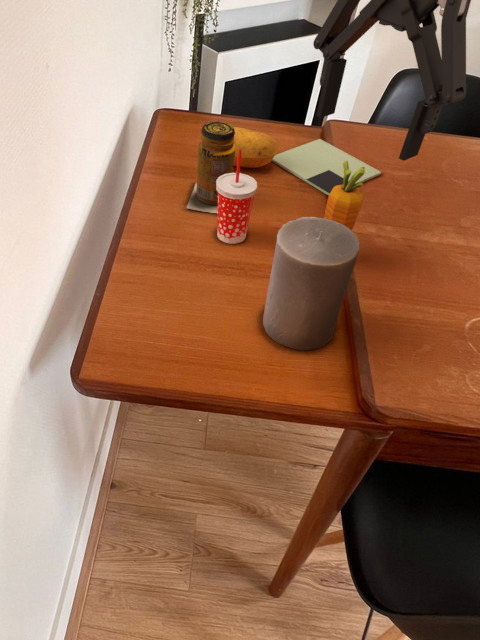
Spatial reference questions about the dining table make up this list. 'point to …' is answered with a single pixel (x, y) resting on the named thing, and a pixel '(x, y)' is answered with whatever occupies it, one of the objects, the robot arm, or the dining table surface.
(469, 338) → the dining table surface
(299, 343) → the pillar candle
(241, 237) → the beverage cup
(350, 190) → the carrot
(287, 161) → the corner mat
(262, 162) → the potato
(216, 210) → the condiment
